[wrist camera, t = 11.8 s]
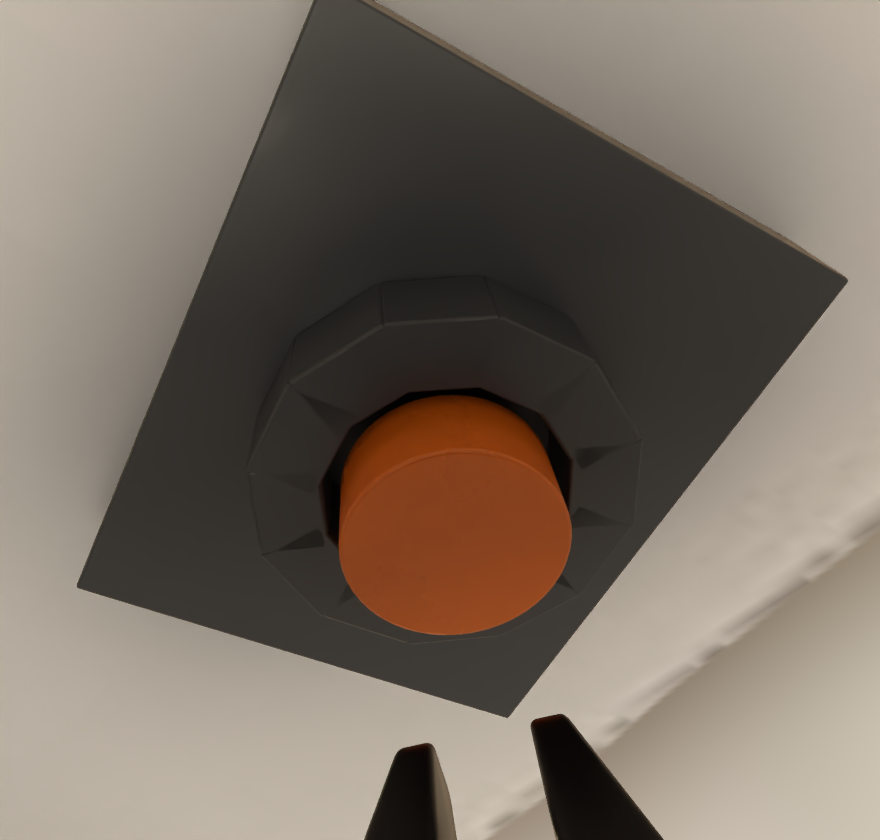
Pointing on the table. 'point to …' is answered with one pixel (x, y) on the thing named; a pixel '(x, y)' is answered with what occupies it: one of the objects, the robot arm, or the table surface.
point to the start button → (451, 516)
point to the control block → (438, 348)
